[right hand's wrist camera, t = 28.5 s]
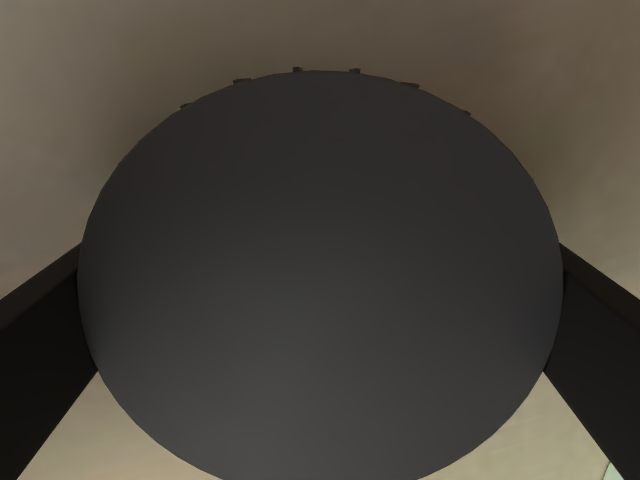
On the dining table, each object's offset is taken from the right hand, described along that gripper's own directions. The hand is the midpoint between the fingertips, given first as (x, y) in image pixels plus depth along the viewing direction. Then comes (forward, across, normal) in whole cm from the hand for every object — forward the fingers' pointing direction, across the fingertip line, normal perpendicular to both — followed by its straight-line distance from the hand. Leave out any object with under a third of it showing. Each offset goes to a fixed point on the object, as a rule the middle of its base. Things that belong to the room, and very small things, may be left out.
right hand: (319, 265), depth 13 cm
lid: (-3, 0, 0) cm, 3 cm away
